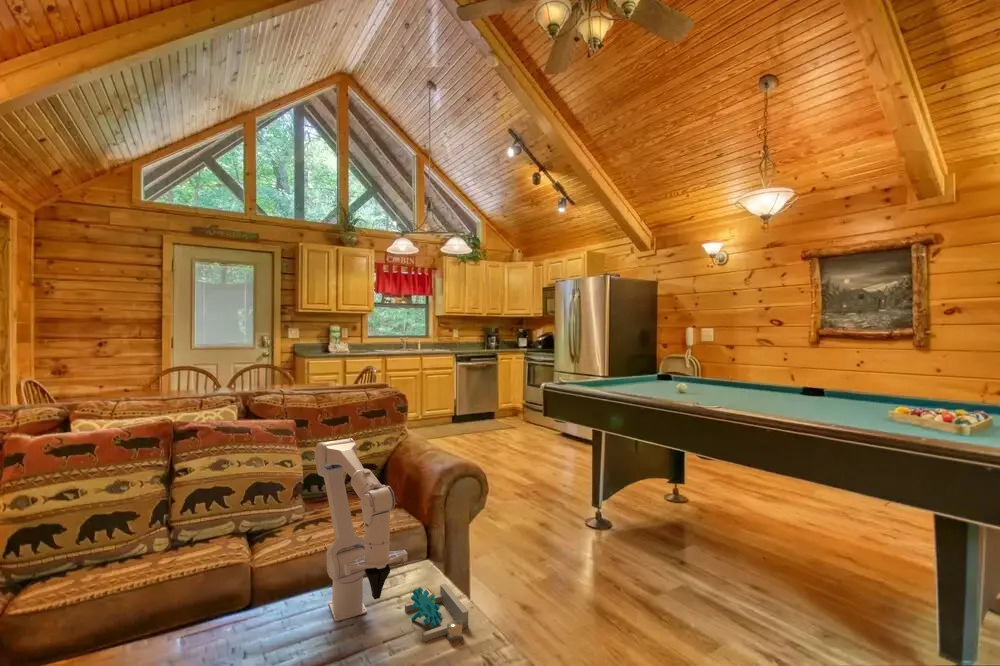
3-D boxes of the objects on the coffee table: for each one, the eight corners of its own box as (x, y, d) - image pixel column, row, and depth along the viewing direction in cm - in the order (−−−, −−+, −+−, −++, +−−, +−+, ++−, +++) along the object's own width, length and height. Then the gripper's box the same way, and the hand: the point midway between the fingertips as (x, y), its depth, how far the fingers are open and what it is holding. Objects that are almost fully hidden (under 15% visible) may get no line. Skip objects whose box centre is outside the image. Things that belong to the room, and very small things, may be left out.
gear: (435, 630, 113) (409, 595, 116) (417, 646, 114) (392, 611, 116) (449, 610, 124) (425, 578, 127) (433, 625, 124) (409, 593, 127)
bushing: (444, 635, 114) (444, 622, 114) (458, 630, 116) (458, 618, 116) (450, 643, 111) (450, 631, 111) (464, 639, 113) (464, 626, 113)
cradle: (404, 609, 124) (404, 594, 124) (445, 598, 130) (445, 583, 130) (424, 641, 112) (424, 624, 112) (468, 627, 117) (468, 611, 117)
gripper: (350, 553, 105) (349, 614, 105) (412, 539, 113) (411, 596, 113) (342, 541, 111) (341, 598, 111) (402, 528, 119) (401, 582, 119)
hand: (376, 596), depth 113 cm, fingers closed
